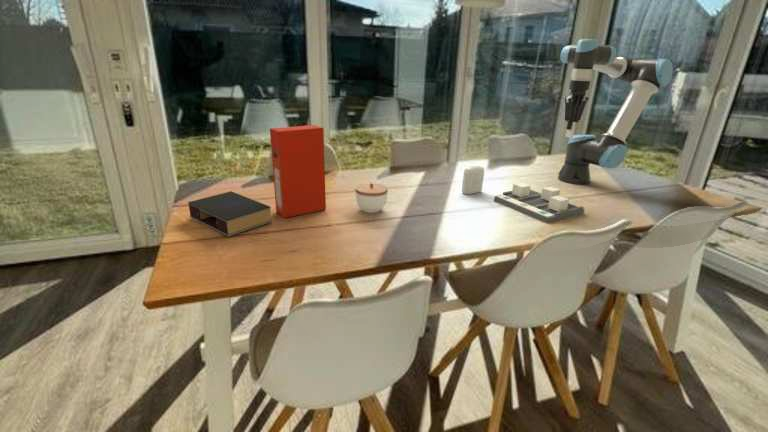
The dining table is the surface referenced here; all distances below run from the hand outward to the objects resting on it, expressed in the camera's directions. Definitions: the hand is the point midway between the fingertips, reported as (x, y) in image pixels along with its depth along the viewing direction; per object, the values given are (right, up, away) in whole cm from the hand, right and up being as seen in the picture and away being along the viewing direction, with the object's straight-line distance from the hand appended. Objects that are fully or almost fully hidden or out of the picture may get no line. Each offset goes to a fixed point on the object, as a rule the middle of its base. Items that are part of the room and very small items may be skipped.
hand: (569, 137), depth 177 cm
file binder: (-113, -32, -18) cm, 119 cm away
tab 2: (-11, -31, -15) cm, 37 cm away
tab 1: (-21, -25, 0) cm, 33 cm away
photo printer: (-40, -24, +9) cm, 48 cm away
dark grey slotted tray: (-16, -30, -6) cm, 35 cm away
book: (-136, -37, -29) cm, 144 cm away
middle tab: (-10, -27, -4) cm, 29 cm away
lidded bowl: (-85, -32, -15) cm, 92 cm away
